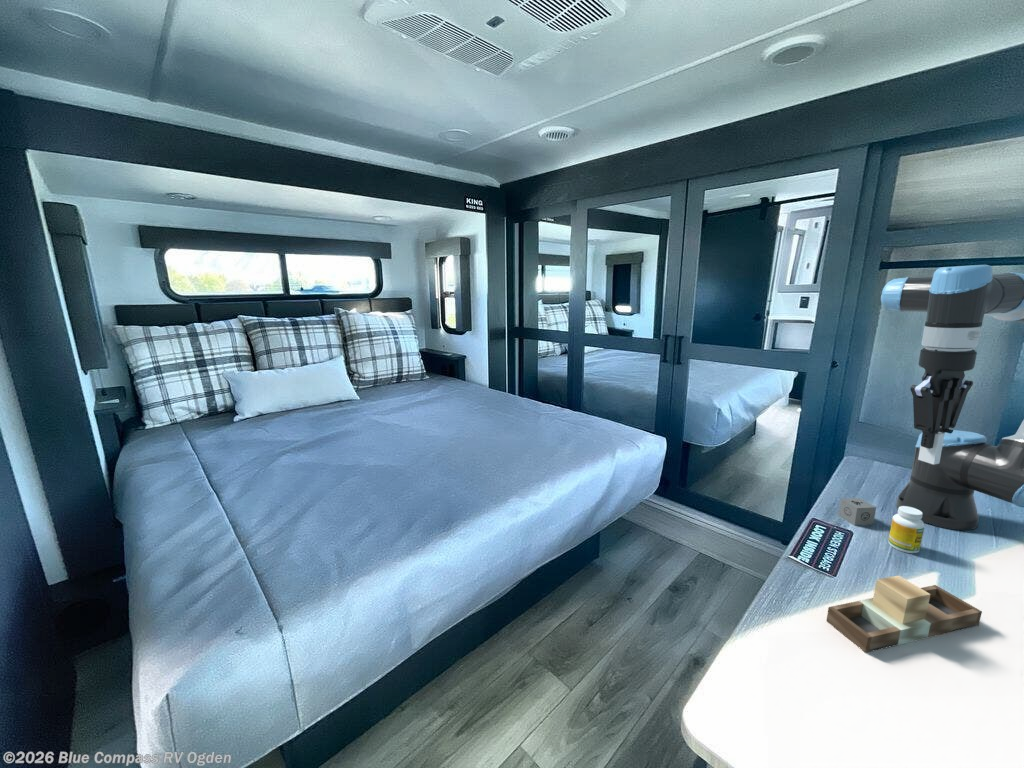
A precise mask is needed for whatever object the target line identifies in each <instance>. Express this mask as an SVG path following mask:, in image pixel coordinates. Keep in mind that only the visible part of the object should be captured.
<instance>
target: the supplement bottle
mask: <svg viewBox="0 0 1024 768" xmlns="http://www.w3.org/2000/svg"><path fill="white" fill-rule="evenodd" d="M897 509H898V510H897V513H895V514H894V515H893V516H892V518H891V525H890V531H889V536H888V541H887V542H888V544H889V545H890V546H891V547H892V548H894V549H895V550H897V551H901V552H903V553H908V554H916V553H920V549H921V544H922V539H923V534H924V530H925V522H923V521H922V520H921V519H922V514H923V513H922V512H921V511H920V510H918V509H915V508H912V507H908V506H900V507H899V508H897Z"/></svg>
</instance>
